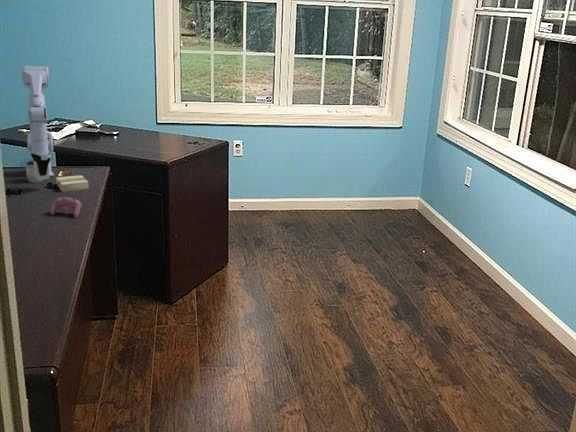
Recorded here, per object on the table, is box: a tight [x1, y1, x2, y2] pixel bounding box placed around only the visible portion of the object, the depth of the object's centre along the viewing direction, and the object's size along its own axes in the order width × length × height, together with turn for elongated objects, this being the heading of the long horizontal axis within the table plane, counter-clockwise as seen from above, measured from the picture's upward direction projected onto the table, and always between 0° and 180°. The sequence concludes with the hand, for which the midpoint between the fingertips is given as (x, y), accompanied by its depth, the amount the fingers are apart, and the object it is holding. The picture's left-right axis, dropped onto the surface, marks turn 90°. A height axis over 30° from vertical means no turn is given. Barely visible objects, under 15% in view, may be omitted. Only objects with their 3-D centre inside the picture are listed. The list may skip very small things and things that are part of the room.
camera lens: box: [25, 160, 44, 184], centre depth 243 cm, size 6×6×8 cm
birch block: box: [55, 174, 90, 193], centre depth 239 cm, size 10×10×3 cm
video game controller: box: [49, 196, 82, 219], centre depth 211 cm, size 10×5×7 cm, turn 85°
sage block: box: [34, 161, 50, 180], centre depth 232 cm, size 4×4×6 cm
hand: (41, 173), depth 233 cm, fingers closed on sage block, 4 cm apart
